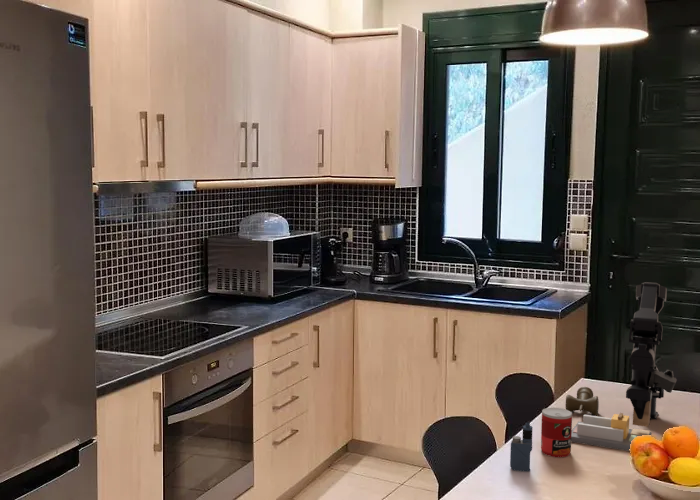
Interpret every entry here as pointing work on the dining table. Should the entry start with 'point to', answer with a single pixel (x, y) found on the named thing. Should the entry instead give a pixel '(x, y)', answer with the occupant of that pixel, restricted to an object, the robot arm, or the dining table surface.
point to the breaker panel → (603, 433)
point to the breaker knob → (621, 423)
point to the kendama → (583, 401)
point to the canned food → (556, 432)
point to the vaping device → (521, 450)
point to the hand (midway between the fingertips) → (641, 416)
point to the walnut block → (646, 416)
